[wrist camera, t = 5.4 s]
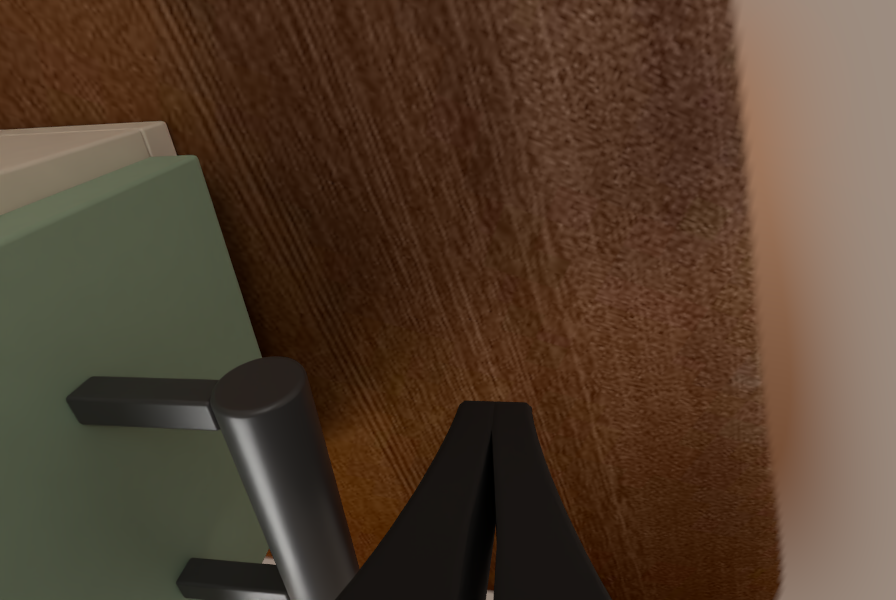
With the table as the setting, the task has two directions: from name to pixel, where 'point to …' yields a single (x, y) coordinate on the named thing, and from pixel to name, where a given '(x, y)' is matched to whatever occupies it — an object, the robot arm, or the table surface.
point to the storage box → (71, 157)
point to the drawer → (151, 409)
